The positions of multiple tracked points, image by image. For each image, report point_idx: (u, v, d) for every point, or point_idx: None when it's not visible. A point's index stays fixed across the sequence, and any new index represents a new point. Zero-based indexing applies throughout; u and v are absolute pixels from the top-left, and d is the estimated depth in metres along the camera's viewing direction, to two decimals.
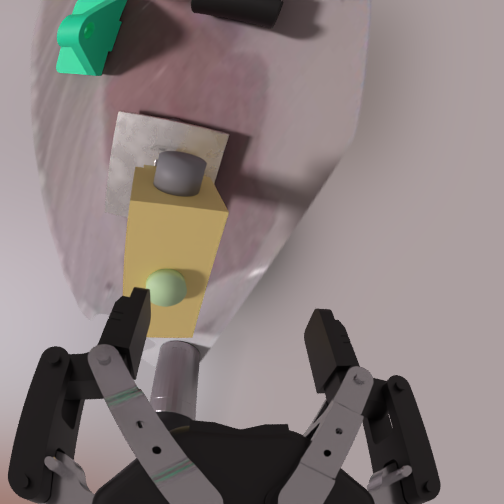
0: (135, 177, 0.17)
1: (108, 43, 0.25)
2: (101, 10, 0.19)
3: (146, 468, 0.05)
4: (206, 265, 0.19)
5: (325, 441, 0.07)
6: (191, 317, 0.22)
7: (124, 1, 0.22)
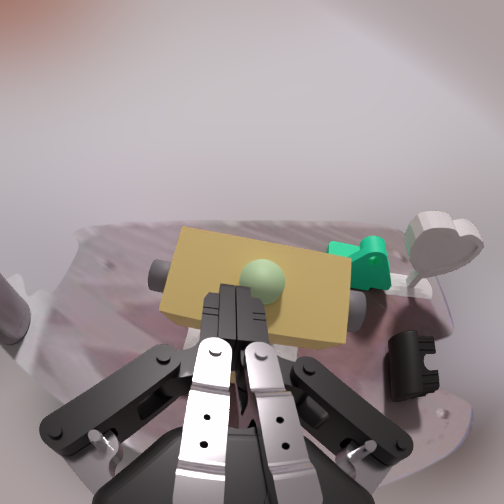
0: None
1: (353, 282, 0.46)
2: (387, 268, 0.42)
3: (182, 452, 0.06)
4: (284, 328, 0.17)
5: (275, 436, 0.07)
6: (200, 312, 0.17)
7: (386, 287, 0.45)
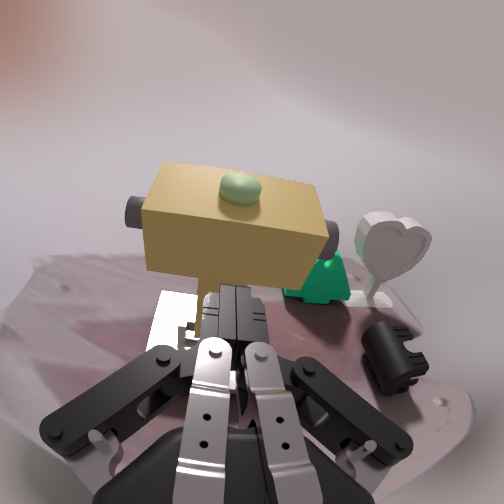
0: None
1: (312, 295, 0.48)
2: (343, 272, 0.45)
3: (182, 452, 0.06)
4: (267, 222, 0.18)
5: (275, 436, 0.07)
6: (183, 209, 0.17)
7: (346, 297, 0.48)
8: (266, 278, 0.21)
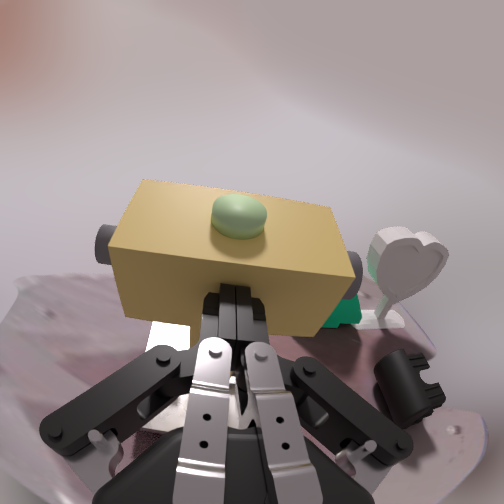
0: None
1: None
2: None
3: (181, 452, 0.06)
4: (275, 261, 0.13)
5: (275, 436, 0.07)
6: (163, 246, 0.12)
7: (357, 320, 0.43)
8: (273, 326, 0.16)
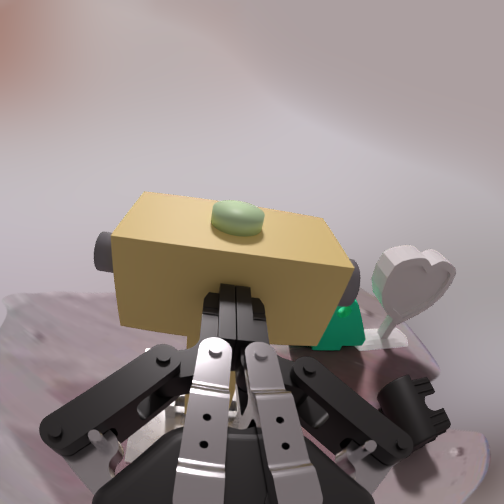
0: None
1: (322, 342, 0.40)
2: (359, 318, 0.38)
3: (181, 452, 0.06)
4: (276, 253, 0.13)
5: (275, 437, 0.07)
6: (165, 237, 0.13)
7: (360, 342, 0.40)
8: (275, 333, 0.16)
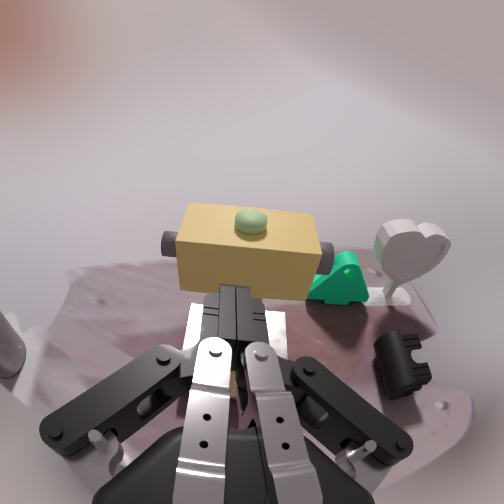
0: None
1: (332, 297, 0.50)
2: (362, 279, 0.46)
3: (182, 452, 0.06)
4: (272, 246, 0.23)
5: (275, 437, 0.07)
6: (207, 239, 0.23)
7: (364, 299, 0.49)
8: (276, 292, 0.26)
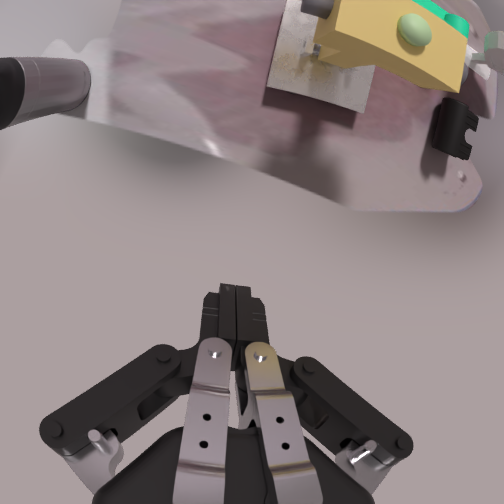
0: None
1: None
2: None
3: (182, 452, 0.06)
4: (425, 66, 0.15)
5: (275, 436, 0.07)
6: (369, 37, 0.14)
7: None
8: (403, 75, 0.19)
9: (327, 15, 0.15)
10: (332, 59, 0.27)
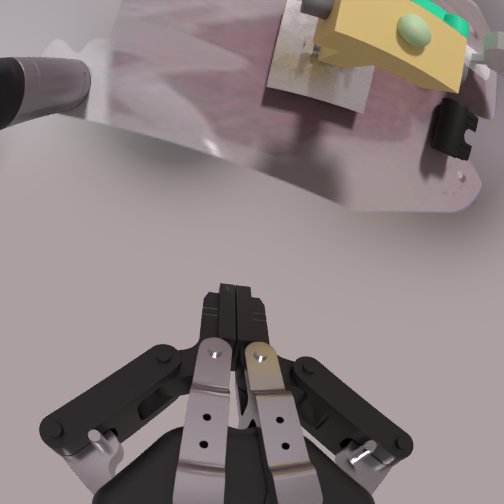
0: None
1: None
2: None
3: (181, 452, 0.06)
4: (425, 67, 0.15)
5: (275, 436, 0.07)
6: (369, 38, 0.14)
7: None
8: (403, 76, 0.19)
9: (327, 15, 0.15)
10: (332, 59, 0.27)
